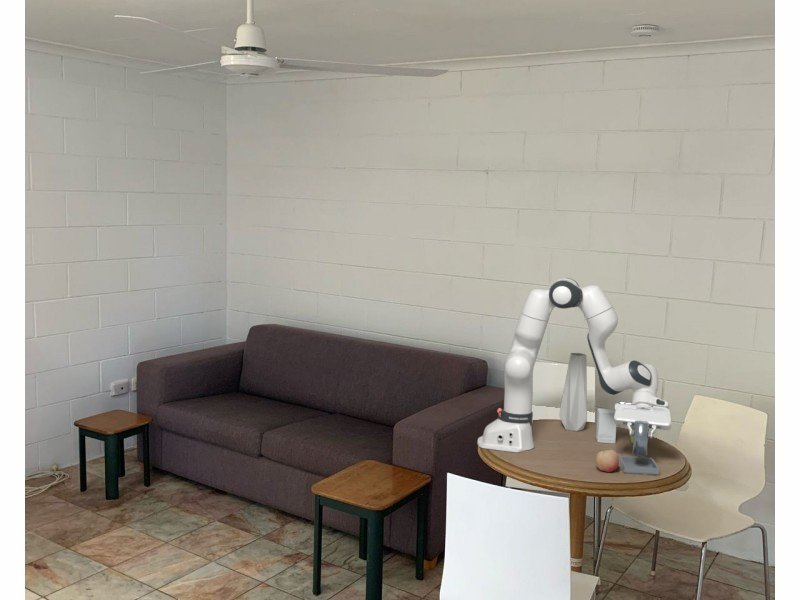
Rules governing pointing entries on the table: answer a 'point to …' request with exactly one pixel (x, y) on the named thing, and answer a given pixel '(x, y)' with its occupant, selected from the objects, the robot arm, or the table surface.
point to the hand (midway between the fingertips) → (640, 436)
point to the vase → (575, 394)
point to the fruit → (607, 460)
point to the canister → (640, 438)
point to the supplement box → (605, 426)
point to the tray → (638, 465)
